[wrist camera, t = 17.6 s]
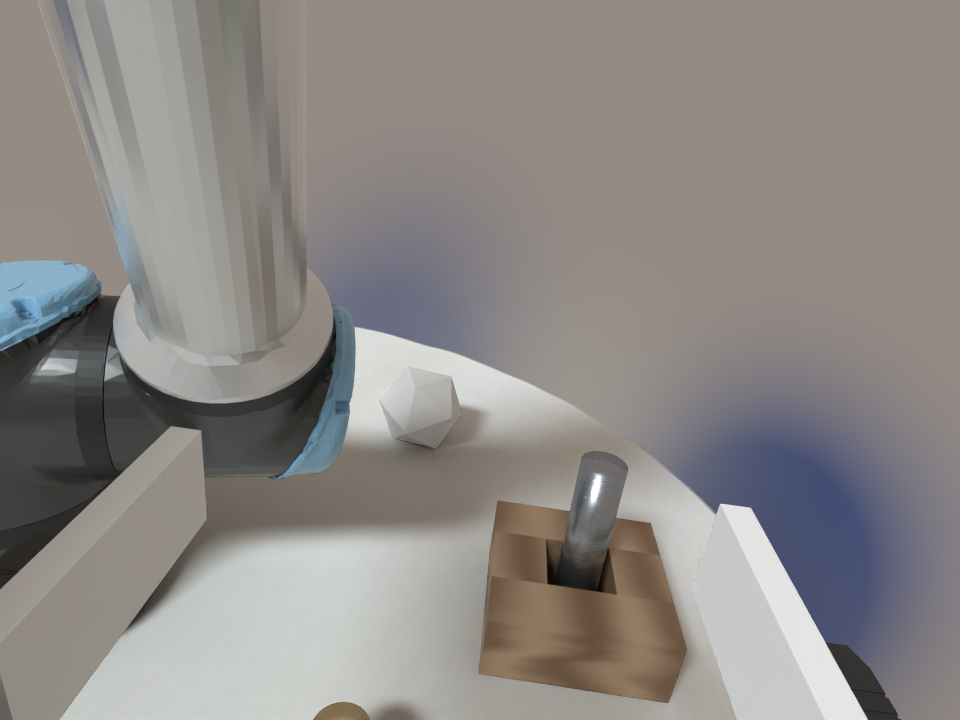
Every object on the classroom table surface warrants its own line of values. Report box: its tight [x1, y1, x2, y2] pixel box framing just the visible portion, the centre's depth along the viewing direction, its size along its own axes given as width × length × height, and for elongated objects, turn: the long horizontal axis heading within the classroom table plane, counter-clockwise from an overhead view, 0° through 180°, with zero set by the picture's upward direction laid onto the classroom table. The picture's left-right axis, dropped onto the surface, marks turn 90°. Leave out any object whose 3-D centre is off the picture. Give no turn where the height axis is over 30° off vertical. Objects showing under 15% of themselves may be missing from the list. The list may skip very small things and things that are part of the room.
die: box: [380, 367, 462, 449], centre depth 68 cm, size 8×9×10 cm
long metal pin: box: [554, 451, 628, 592], centre depth 45 cm, size 3×3×14 cm
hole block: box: [479, 501, 687, 703], centre depth 47 cm, size 13×13×5 cm
